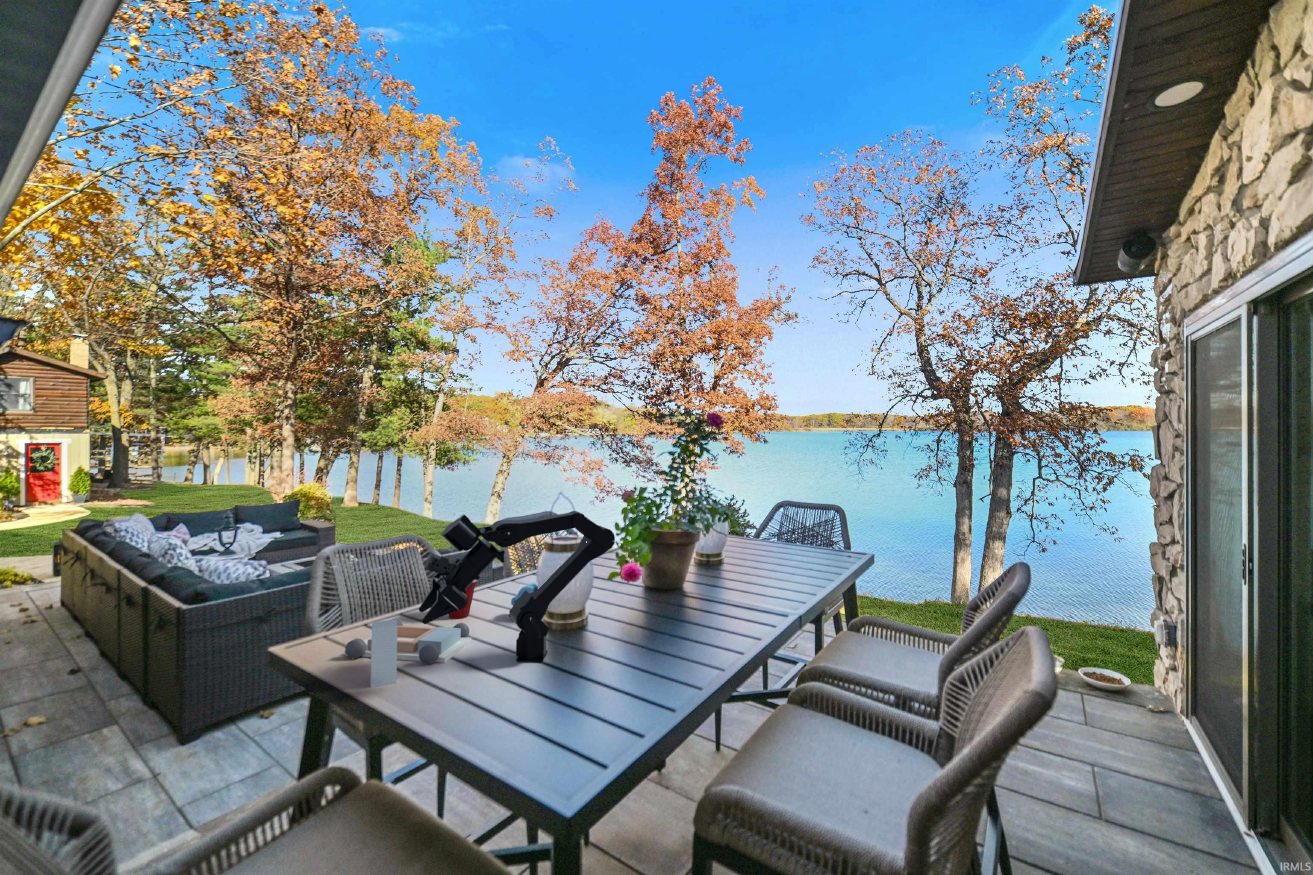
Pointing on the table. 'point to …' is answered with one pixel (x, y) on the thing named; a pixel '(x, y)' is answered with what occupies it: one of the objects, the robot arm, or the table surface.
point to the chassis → (419, 643)
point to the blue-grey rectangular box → (384, 652)
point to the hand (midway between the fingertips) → (421, 616)
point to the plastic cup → (466, 609)
